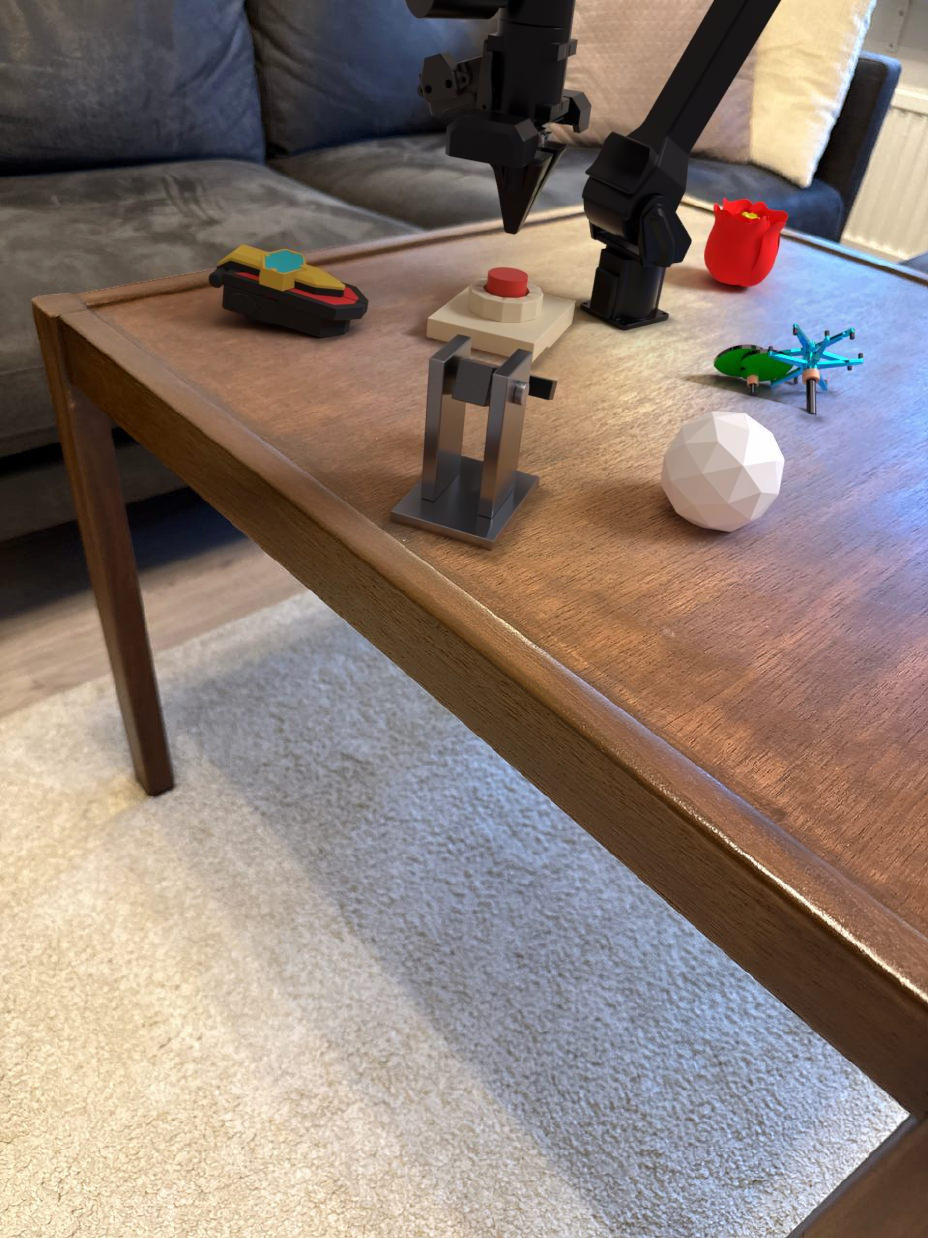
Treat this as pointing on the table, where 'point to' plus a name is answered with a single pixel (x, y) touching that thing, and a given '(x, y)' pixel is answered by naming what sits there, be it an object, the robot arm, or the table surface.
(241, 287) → the gadget
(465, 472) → the grey metal stand
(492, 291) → the button
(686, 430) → the geometric ball
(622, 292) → the robot arm
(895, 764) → the table surface
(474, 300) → the control box
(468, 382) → the press lever
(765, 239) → the flower
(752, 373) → the stick construction toy
